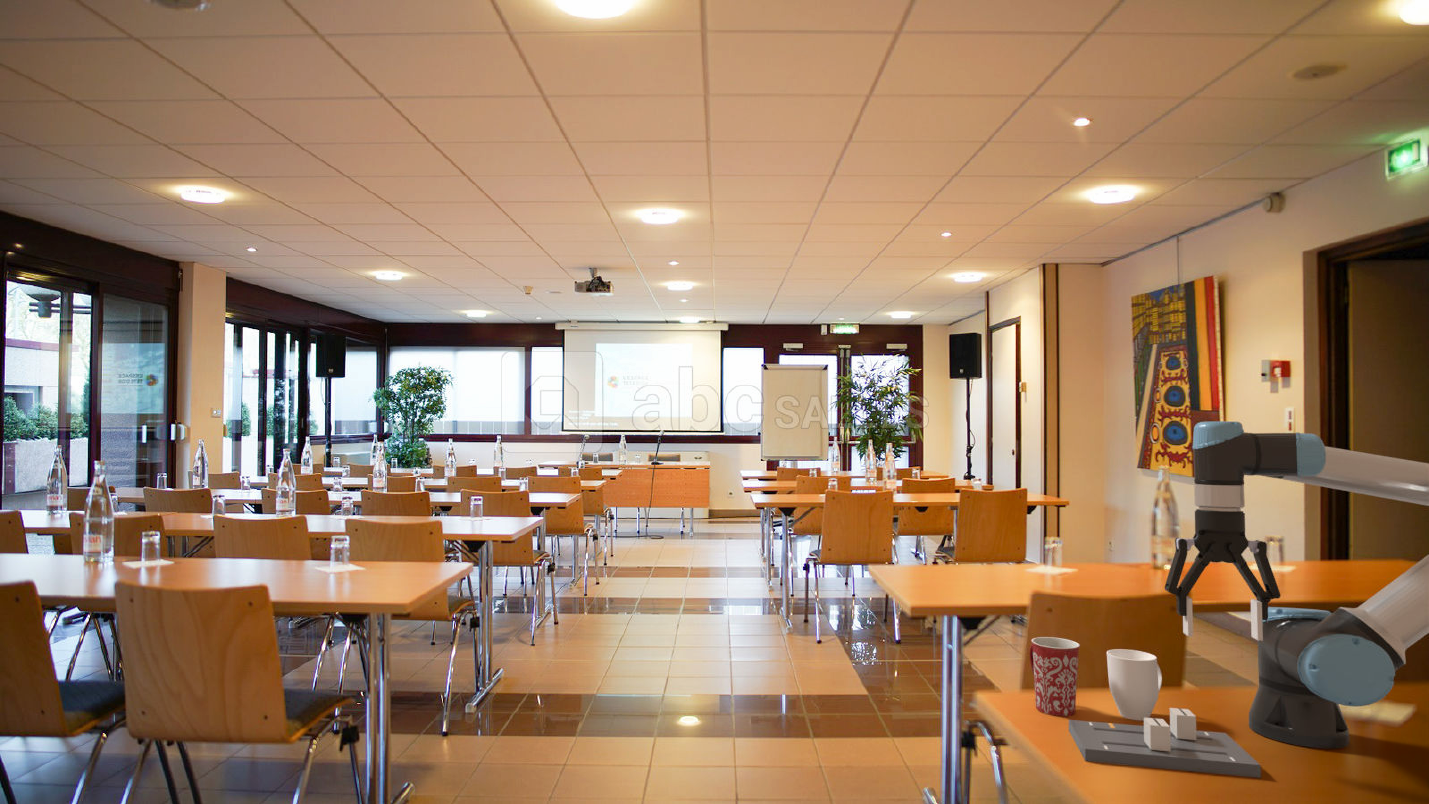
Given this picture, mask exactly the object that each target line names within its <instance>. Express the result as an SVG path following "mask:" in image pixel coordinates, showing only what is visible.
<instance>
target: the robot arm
mask: <svg viewBox="0 0 1429 804" xmlns="http://www.w3.org/2000/svg"><path fill="white" fill-rule="evenodd" d="M1192 440H1193V441H1192V452H1193V455H1192V456H1193V475H1194V477H1193V478H1194V486H1193V487H1194V489H1193V490H1194V493H1193V494H1194V506H1196V507H1198V508H1197V509H1195V511H1194V532H1195V533H1194V535H1193V537H1192V538H1182V537H1176V538H1175V539H1174V544H1175V545H1174V546H1175V553H1174V554H1173V555H1174V556H1173V559H1172V561H1171V565H1170V568H1169V571H1168V575H1167V578H1166V581H1165V585H1164V590H1165V591H1166V592H1168V593H1170V594H1171V595H1174V596H1175V597H1176V612H1177V614H1178V615H1179V616H1181V617H1182V628H1183V629H1182V632H1183V634H1184V635H1186V636H1187V637H1194V622H1193V621H1194V618H1193V617H1194V616H1193V614H1194V613H1193V598H1191V597H1190V596H1189V594H1190V592H1191V591H1192V589H1193V588H1194V586H1195V584H1196V583H1197V582H1198V579H1199V578H1200V577H1201V575H1202V573H1203V572H1204V571H1205V569H1206V567H1208V566H1209V565H1210V563H1216V564H1217V563H1227V564H1232V565H1233V566H1234V567H1235V568H1236V569H1237V571H1238V573H1239V574H1240V575H1241V577H1242V578H1243V581H1245V583H1246V584H1247V586H1248V588H1249V589H1250V591H1251V592H1252V594H1253V595H1254V597H1255V599H1254V598H1251V599H1250V626H1251V627H1250V629H1251V631H1250V632H1251V633H1250V634H1251V635H1250V636H1251V638H1253V639H1255V640H1256V641H1257V661H1258V662H1257V664H1258V665H1257V666H1258V670H1257V671H1258V688H1257V690H1256V693H1255V696H1254V698H1253V700H1252V704H1251V706H1250V709H1249V712H1248V727H1249V728H1250V729H1251V730H1252V731H1253V732H1255V733H1256V734H1258V735H1261V736H1263V737H1266V738H1269V739H1271V740H1275V741H1279V742H1282V743H1286V744H1291V745H1296V746H1300V747H1301V746H1302V747H1308V748H1316V749H1341V748H1345V747H1347V746H1349V745H1350V731H1349V727H1348V725H1347V722H1346V720H1345V717H1344V714H1343V712H1342V709H1341V708H1340V705H1341V706H1346V707H1365V706H1370V705H1372V704H1375V703H1377V702H1379V701H1381V700H1383V699H1384V698H1385V697H1386V696H1387V695H1388V694H1389V692H1390V691H1391V690H1392V688H1393V686H1394V684H1395V681H1394V678H1395V676H1396V671H1398V670H1399V669H1401V668H1402V667H1404V665H1406V663H1407V660H1406V651H1407V649H1408V648H1410V647H1411V646H1412V645H1414V644H1415V643H1417V642H1418V641H1419V640H1421V639H1422V638H1424V636H1426V635H1428V634H1429V554H1428V555H1426V556H1425V557H1424V558H1422V559H1421V560H1419V561H1417V563H1415V564H1414V565H1412V566H1411V567H1409V569H1407V570H1406V571H1405V572H1403V573H1402V574H1400V575H1399V576H1398V577H1397V578H1395V579H1394V580H1393V581H1391V582H1390V583H1389V584H1387V585H1386V586H1384V587H1383V588H1382V589H1381V590H1379V591H1378V592H1376V593H1375V594H1374V595H1372V596H1371V597H1370V598H1368V599H1366V601H1365V602H1364V601H1363V603H1362V604H1360V605H1359V606H1358V607H1354V608H1353V607H1343V606H1340V607H1338V608H1337V609H1336V610H1335V611H1333V612H1331V611H1329V610H1324V609H1323V610H1321V609H1313V608H1301V607H1300V608H1298V607H1297V608H1296V607H1280V606H1279V607H1278V606H1269V604H1268V603H1270V602H1271V601H1272V600H1275V599H1280V598H1281V591H1280V589H1279V586H1278V583H1277V581H1276V578H1275V575H1274V573H1273V569H1272V567H1271V564H1270V562H1269V559H1268V556H1267V555H1268V554H1267V553H1268V552H1267V551H1268V550H1267V549H1268V545H1267V543H1266V542H1265V541H1264V540H1263V541H1262V540H1258V539H1256V540H1248V538H1247V537H1246V513H1244V511H1242V509H1243V508H1245V507H1246V506H1245V504H1246V503H1245V479H1244V478H1245V476H1261V477H1267V478H1272V479H1279V480H1285V481H1290V482H1296V483H1301V484H1307V485H1312V486H1317V487H1324V488H1327V489H1328V488H1329V489H1333V490H1340V491H1346V492H1350V493H1355V494H1360V495H1361V494H1362V495H1367V496H1373V497H1377V498H1378V497H1379V498H1383V499H1387V500H1388V499H1389V500H1395V501H1400V502H1406V503H1411V504H1417V505H1421V506H1422V505H1423V506H1428V507H1429V463H1428V462H1423V461H1422V462H1421V461H1415V460H1410V459H1409V460H1408V459H1404V458H1398V457H1392V456H1391V457H1390V456H1387V455H1385V456H1384V455H1379V454H1373V453H1367V452H1362V451H1355V450H1349V449H1343V448H1338V447H1332V446H1326V445H1325V444H1324V441H1323V440H1322V438H1321V437H1319V435H1317V434H1314V433H1306V432H1305V433H1304V432H1301V433H1300V432H1260V433H1259V432H1258V433H1256V432H1255V433H1253V432H1245V430H1244V427H1243V423H1241V422H1240V421H1225V420H1223V421H1200V422H1198V423H1196V424H1195V425H1194V427H1193V436H1192ZM1193 546H1194V547H1195V548H1196V550H1197V551H1198V554H1197V555H1196V557H1194V561H1193V563H1192V564H1191V566H1190V568H1189V569H1188V571H1187V572H1186V573H1185V576H1184V577H1183V578H1182V580H1181V581H1180V579H1181V576H1182V573H1183V570H1184V567H1185V563H1186V561H1187V556H1188V552H1189V551H1190V550H1191V548H1192V547H1193ZM1247 548H1249V551H1250V553H1253V557H1254V560H1255V563H1256V567H1257V570H1258V572H1259V576H1260V577H1261V580H1262V584H1263V586H1262V585H1261V583H1260V582H1259V581H1258V579H1257V578H1256V576H1255V574H1254V573H1253V571H1252V570H1251V568H1250V567H1249V566H1248V563H1247V561H1246V559H1245V558H1244V556H1243V555H1242V554H1243V553H1244V552H1245V550H1247ZM1179 582H1180V584H1179ZM1263 587H1264V588H1263ZM1264 589H1265V590H1264Z"/></svg>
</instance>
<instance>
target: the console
mask: <svg viewBox="0 0 1429 804" xmlns="http://www.w3.org/2000/svg"><path fill="white" fill-rule="evenodd" d="M1068 732H1069V734H1070V736H1071V737H1072V739H1073V740H1074V742H1075V745H1076V747H1077V748H1078V750H1079V752H1080V753H1081V756H1082V757H1083V759H1084V761H1085V762H1089V763H1090V762H1091V763H1092V762H1093V763H1103V764H1113V765H1123V766H1133V767H1135V766H1136V767H1145V768H1154V769H1155V768H1156V769H1163V770H1166V769H1167V770H1173V771H1175V770H1176V771H1177V770H1178V771H1184V772H1185V771H1186V772H1187V771H1188V772H1196V773H1206V774H1207V773H1208V774H1217V775H1226V776H1227V775H1228V776H1237V777H1238V776H1239V777H1248V778H1258V779H1261V778H1262V770H1261V764H1260V763H1259V762H1258V761H1257V760H1256V759H1255V758H1254V757H1253V756H1251V755H1250V754H1249V753H1248V752H1247V751H1246V750H1245V749H1244V748H1243V747H1242V746H1241V745H1239V744H1238V743H1237V742H1236V741H1235V740H1234V739H1233V738H1232V737H1231V736H1229V734H1227V733H1226V732H1220V731H1218V732H1217V731H1216V732H1215V731H1205V730H1196V740H1189V739H1178V738H1176V737H1175V735H1174V734H1173V733H1172V732H1171V731H1170V751H1161V750H1151V749H1150V748H1149V747H1148V746H1147V744H1146V743H1145V742H1144V725H1137V724H1136V725H1134V724H1124V723H1113V722H1101V721H1100V722H1099V721H1088V720H1087V721H1086V720H1078V719H1076V720H1075V719H1068Z"/></svg>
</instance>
